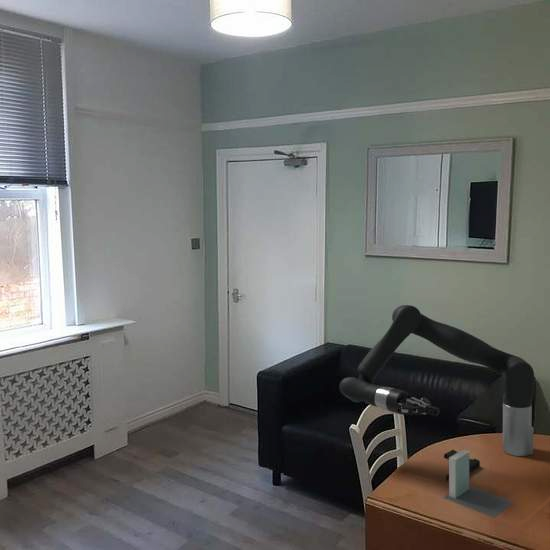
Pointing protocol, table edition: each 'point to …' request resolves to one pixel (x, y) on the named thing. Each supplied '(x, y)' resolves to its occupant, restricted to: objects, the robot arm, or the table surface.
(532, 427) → the robot arm
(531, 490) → the table surface
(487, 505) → the mat
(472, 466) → the handgun
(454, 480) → the tile
